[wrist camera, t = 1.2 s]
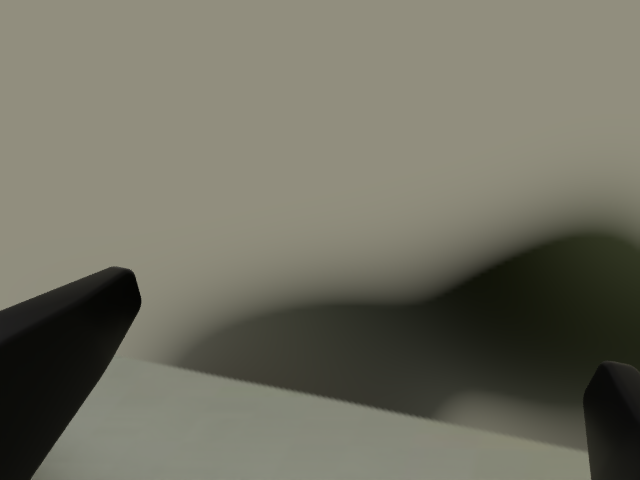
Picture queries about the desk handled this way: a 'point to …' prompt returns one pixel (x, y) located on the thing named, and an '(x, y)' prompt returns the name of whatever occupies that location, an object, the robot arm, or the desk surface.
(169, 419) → the desk surface
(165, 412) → the desk surface
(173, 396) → the desk surface
